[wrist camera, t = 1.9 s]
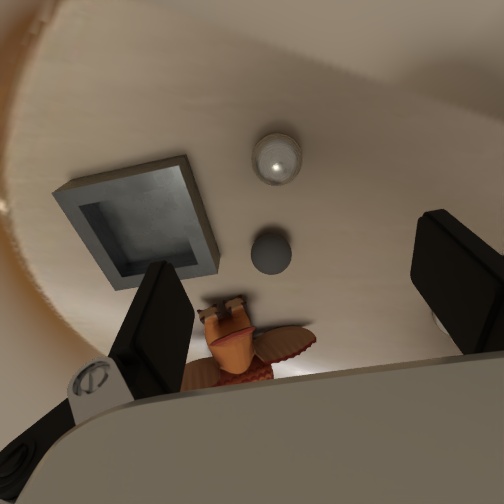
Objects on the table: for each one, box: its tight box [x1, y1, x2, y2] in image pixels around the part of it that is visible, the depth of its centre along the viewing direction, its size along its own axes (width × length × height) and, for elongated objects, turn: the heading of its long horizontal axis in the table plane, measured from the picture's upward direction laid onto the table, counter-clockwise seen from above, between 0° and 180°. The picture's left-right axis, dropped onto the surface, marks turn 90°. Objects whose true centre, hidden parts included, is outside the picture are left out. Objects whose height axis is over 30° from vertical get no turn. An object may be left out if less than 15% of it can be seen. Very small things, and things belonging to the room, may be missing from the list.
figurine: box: [180, 295, 316, 392], centre depth 35 cm, size 20×9×15 cm
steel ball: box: [252, 133, 302, 186], centre depth 23 cm, size 4×4×4 cm
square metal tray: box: [52, 154, 220, 291], centre depth 27 cm, size 11×11×3 cm
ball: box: [251, 234, 292, 275], centre depth 28 cm, size 4×4×4 cm
